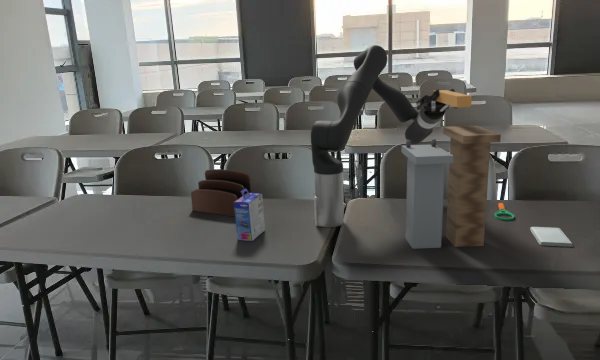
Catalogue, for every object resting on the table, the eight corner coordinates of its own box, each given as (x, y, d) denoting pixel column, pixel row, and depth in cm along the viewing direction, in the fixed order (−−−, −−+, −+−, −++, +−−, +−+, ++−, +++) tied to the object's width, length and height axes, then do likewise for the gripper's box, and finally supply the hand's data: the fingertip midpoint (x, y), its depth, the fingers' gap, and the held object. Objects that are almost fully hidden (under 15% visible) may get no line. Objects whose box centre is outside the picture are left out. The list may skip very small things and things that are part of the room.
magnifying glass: (515, 222, 155) (515, 217, 154) (494, 221, 156) (495, 216, 156) (510, 208, 169) (510, 203, 168) (491, 207, 170) (491, 202, 170)
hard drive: (573, 243, 133) (559, 227, 145) (540, 241, 135) (530, 226, 147) (572, 249, 134) (559, 232, 145) (540, 247, 135) (529, 231, 147)
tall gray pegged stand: (413, 254, 132) (416, 149, 125) (399, 233, 147) (401, 138, 140) (448, 253, 132) (453, 147, 125) (431, 232, 148) (434, 137, 140)
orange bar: (456, 107, 134) (457, 96, 133) (433, 100, 155) (433, 90, 155) (471, 106, 134) (471, 95, 133) (445, 99, 155) (446, 90, 155)
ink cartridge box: (249, 228, 155) (246, 185, 152) (265, 230, 154) (263, 186, 150) (235, 240, 146) (232, 193, 143) (252, 241, 145) (249, 195, 141)
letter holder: (208, 203, 184) (205, 167, 181) (253, 209, 176) (251, 171, 172) (191, 211, 176) (188, 173, 172) (238, 217, 167) (235, 178, 163)
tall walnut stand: (457, 252, 132) (463, 135, 124) (439, 231, 148) (443, 126, 140) (492, 251, 132) (500, 134, 124) (470, 230, 148) (476, 125, 140)
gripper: (408, 104, 166) (421, 81, 150) (450, 103, 167) (467, 80, 150) (410, 125, 164) (424, 104, 148) (452, 123, 165) (470, 102, 148)
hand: (445, 92), depth 149 cm, fingers closed on orange bar, 4 cm apart
